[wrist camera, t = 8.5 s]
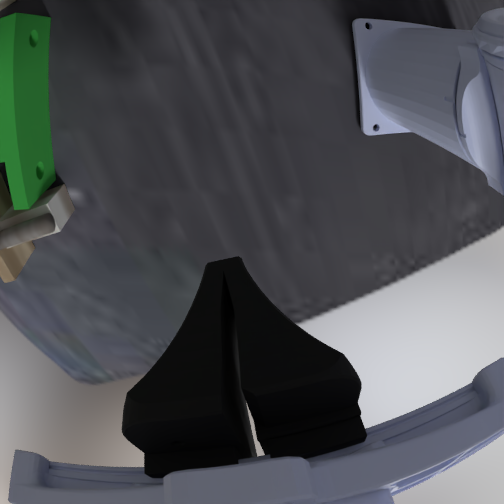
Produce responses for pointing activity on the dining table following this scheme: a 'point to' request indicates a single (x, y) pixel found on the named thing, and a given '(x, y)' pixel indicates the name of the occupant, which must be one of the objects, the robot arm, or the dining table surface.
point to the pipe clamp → (25, 107)
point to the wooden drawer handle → (28, 221)
